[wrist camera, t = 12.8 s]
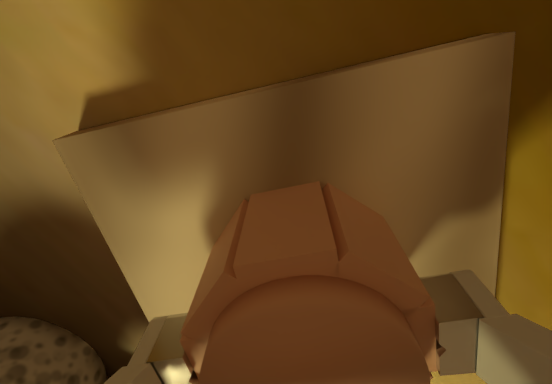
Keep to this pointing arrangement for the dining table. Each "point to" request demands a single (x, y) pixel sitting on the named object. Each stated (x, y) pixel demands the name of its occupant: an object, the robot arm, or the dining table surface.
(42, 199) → the dining table surface
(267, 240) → the cap
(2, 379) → the mug
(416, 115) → the board
